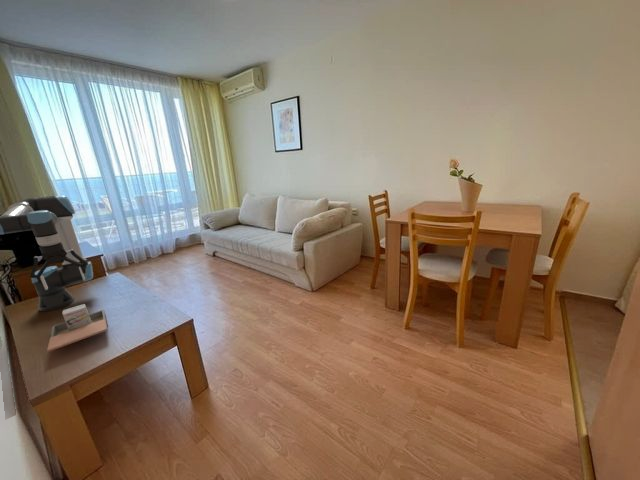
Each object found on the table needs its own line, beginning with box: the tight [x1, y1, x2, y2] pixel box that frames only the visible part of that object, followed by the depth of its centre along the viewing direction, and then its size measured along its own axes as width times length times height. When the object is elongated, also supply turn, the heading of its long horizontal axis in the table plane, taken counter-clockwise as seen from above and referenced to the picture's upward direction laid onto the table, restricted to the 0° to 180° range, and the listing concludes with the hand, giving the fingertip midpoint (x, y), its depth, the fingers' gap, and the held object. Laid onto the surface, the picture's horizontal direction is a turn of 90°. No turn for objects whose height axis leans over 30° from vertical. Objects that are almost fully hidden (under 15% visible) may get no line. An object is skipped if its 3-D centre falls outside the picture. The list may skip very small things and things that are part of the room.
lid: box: [46, 319, 108, 353], centre depth 119 cm, size 13×20×1 cm, turn 133°
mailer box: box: [50, 309, 109, 338], centre depth 129 cm, size 13×20×4 cm, turn 133°
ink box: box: [61, 303, 92, 331], centre depth 128 cm, size 8×5×12 cm, turn 134°
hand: (66, 283), depth 127 cm, fingers open, 13 cm apart
